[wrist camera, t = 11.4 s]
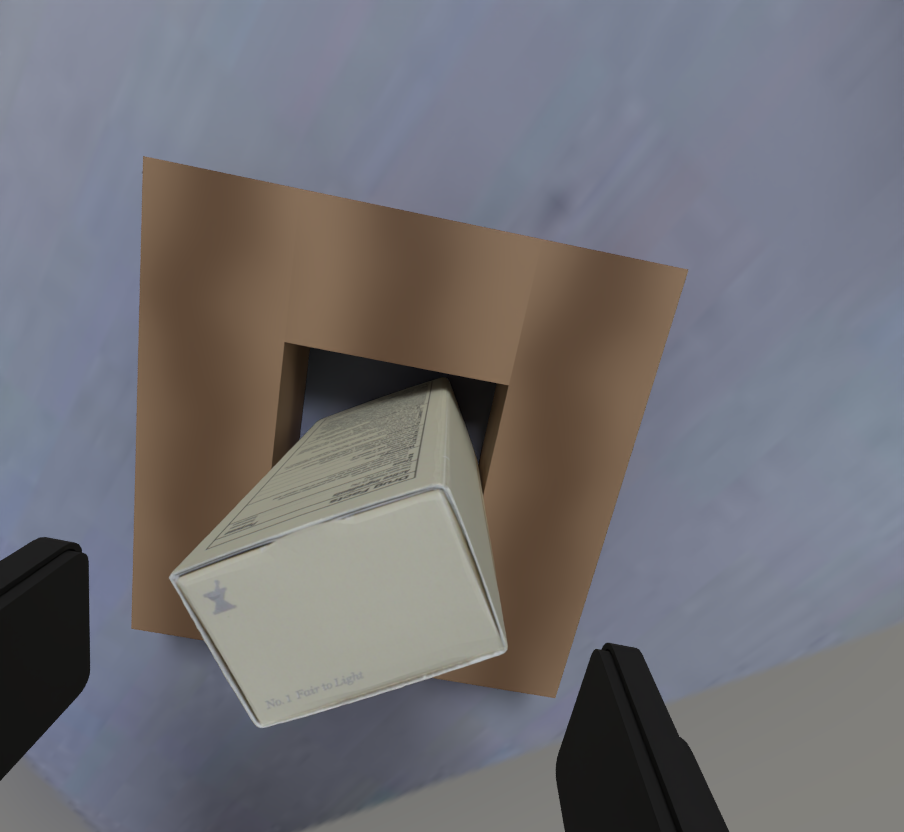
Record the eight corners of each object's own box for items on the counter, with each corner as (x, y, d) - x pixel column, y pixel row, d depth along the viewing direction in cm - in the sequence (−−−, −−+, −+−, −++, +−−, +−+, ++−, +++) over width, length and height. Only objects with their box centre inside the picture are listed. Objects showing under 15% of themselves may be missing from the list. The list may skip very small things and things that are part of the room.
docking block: (649, 270, 20) (688, 269, 17) (541, 640, 25) (555, 698, 22) (197, 177, 19) (143, 156, 16) (176, 578, 24) (131, 628, 21)
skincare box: (353, 503, 23) (248, 741, 11) (314, 415, 22) (152, 577, 10) (484, 460, 22) (516, 664, 11) (450, 367, 21) (445, 481, 10)
